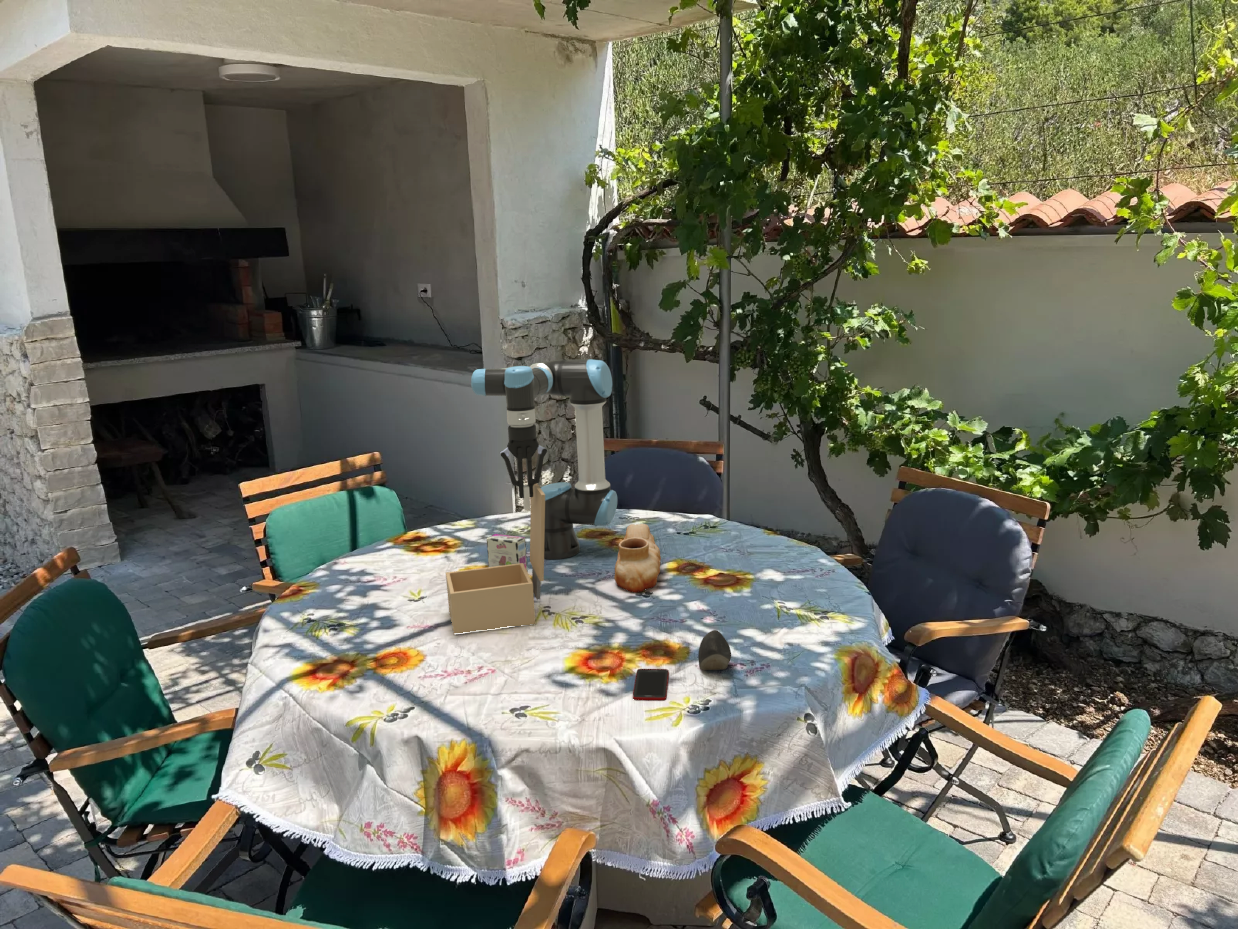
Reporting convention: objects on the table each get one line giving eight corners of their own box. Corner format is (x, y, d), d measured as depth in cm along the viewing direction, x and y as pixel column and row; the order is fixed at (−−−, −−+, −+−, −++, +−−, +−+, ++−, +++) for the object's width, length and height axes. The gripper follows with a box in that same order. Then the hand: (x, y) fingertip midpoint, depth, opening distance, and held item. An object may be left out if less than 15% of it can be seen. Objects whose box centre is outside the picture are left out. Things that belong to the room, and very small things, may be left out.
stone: (702, 675, 228) (694, 656, 220) (699, 648, 233) (691, 628, 225) (734, 670, 226) (728, 650, 219) (730, 642, 231) (724, 622, 224)
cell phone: (669, 672, 226) (669, 668, 226) (666, 702, 212) (666, 698, 212) (637, 672, 227) (637, 668, 227) (632, 701, 213) (632, 697, 213)
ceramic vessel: (663, 563, 299) (662, 518, 296) (658, 594, 274) (657, 545, 271) (620, 563, 301) (618, 518, 297) (611, 594, 276) (609, 545, 272)
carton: (525, 602, 272) (523, 563, 269) (535, 624, 256) (532, 583, 253) (449, 612, 267) (445, 572, 264) (454, 635, 251) (450, 593, 248)
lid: (529, 584, 271) (532, 584, 272) (539, 605, 255) (543, 605, 255) (531, 479, 264) (534, 479, 265) (541, 494, 248) (545, 494, 249)
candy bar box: (529, 588, 282) (526, 537, 278) (520, 594, 278) (516, 542, 274) (499, 583, 288) (495, 532, 284) (489, 589, 283) (485, 537, 279)
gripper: (499, 429, 246) (505, 515, 252) (548, 425, 249) (552, 510, 255) (495, 424, 253) (501, 507, 259) (543, 420, 256) (548, 502, 262)
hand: (527, 508), depth 257 cm, fingers closed
